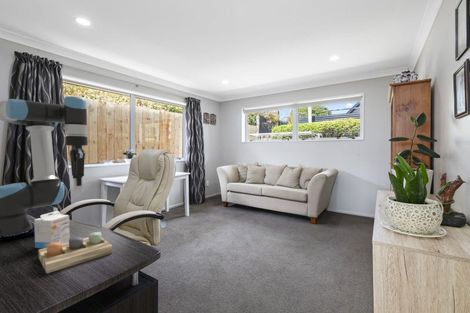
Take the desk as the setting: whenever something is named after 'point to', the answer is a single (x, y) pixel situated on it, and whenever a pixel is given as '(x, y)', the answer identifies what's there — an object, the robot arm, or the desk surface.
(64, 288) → the desk surface
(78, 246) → the charcoal button
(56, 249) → the orange button
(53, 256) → the panel
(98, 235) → the sage button
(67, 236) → the ink box
